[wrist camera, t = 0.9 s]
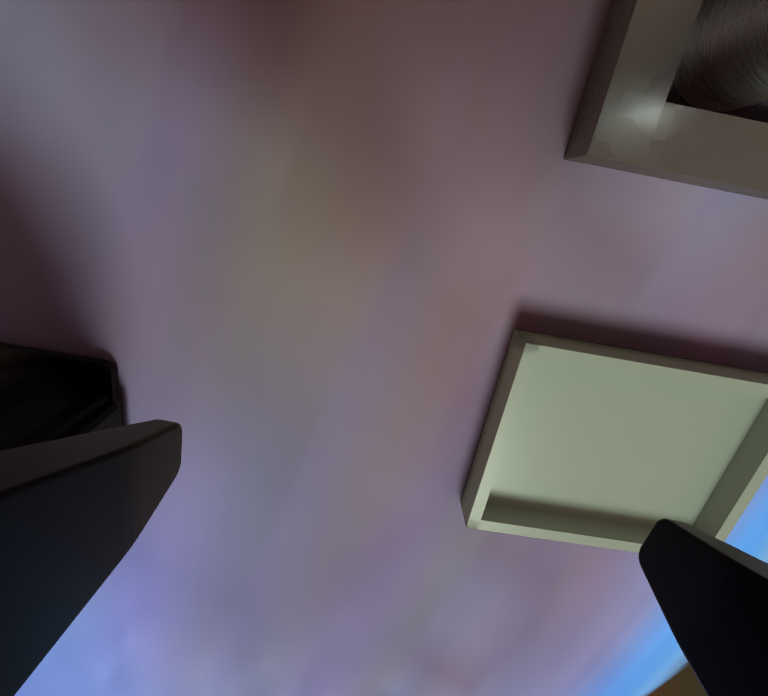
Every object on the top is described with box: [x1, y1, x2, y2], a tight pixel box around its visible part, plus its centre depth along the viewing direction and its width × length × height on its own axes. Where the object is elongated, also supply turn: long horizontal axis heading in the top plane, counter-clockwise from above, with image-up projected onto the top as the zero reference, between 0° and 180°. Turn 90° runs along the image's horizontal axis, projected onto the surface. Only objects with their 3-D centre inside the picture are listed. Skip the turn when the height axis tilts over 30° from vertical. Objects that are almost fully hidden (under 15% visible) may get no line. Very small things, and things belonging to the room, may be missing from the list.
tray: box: [461, 329, 768, 553], centre depth 20 cm, size 13×10×2 cm
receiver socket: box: [564, 0, 768, 199], centre depth 14 cm, size 9×9×2 cm
